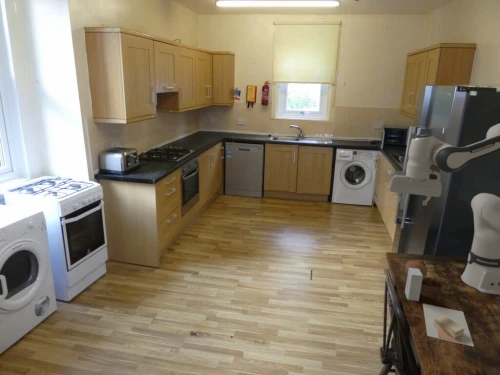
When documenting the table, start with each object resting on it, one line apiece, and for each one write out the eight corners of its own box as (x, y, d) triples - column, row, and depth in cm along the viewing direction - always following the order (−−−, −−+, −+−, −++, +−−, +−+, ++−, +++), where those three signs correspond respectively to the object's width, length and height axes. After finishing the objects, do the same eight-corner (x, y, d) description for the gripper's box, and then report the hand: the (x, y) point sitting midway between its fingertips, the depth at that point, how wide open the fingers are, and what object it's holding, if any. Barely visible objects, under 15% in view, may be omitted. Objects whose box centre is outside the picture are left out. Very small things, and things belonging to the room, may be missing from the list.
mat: (462, 313, 135) (463, 311, 135) (473, 348, 117) (474, 346, 117) (422, 304, 140) (422, 303, 140) (427, 337, 122) (427, 335, 122)
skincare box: (418, 302, 141) (423, 276, 138) (407, 301, 142) (411, 274, 139) (415, 294, 147) (419, 268, 144) (404, 292, 148) (408, 267, 144)
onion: (417, 282, 162) (427, 262, 161) (423, 288, 152) (434, 267, 151) (397, 272, 163) (407, 253, 162) (402, 277, 154) (413, 257, 153)
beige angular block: (462, 335, 122) (464, 328, 121) (454, 339, 120) (455, 331, 119) (441, 321, 129) (443, 314, 128) (433, 325, 127) (434, 318, 126)
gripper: (390, 171, 150) (386, 202, 154) (444, 176, 143) (439, 209, 147) (390, 168, 156) (387, 198, 159) (442, 173, 149) (437, 204, 152)
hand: (412, 203), depth 153 cm, fingers open, 8 cm apart
